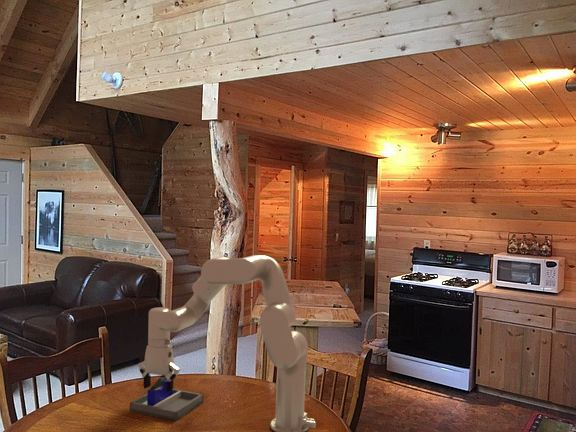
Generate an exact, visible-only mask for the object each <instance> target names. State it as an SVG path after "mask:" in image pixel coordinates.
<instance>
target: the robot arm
mask: <svg viewBox="0 0 576 432" xmlns="http://www.w3.org/2000/svg"><path fill="white" fill-rule="evenodd" d="M256 281H260V282H261V288H262V295H263V297H264V302H265V304H266V305H265V306H266V307H265V308H264V309H263V310H262V311H261V313H260V316H259V327H260V331H261V334H262V338H263V341H264V345H265V348H266V352H267V354H268V358H269V360H270V361H271V363H272V364H273V366H275V367H276V390H275V392H276V393H275V395H276V396H275V417H274V419H272V420H271V421H270V428H271V430H273V432H307V431H308V429H309V428H313V429H315V428H316V427H317V426H316V425H317V422H316V421H315V419H314V418H310V417H309V418H308V413H307V412H305V401H306V400H305V399H306V398H305V397H306V396H305V395H306V393H305V392H306V371H307V361H308V351H309V344H308V341H307V338H306V337H305V336H304V334H303V333H301V332H299V331H298V330H297V331H296V330H292V329H291V327H292V326H293V325H294V324H295V322H296V319H297V314H296V310H295V306H294V304H293V300H292V297H291V296H292V295H291V294H290V290H289V288H288V284H287V280H286V278H285V274H284V272H283V269H282V266H281V265H280V264H279V262H278V261H276V260H275V259H274V258H272V257H270V256H267V255H261V254H254V255H249V256H245V257H238V258H236V257H235V258H229V257H227V256H226V257H225V256H220V257H219V256H218V257H215V258H214V257H213V258H210V259H208V260H207V261H205V262H204V263H203V265H202V267H201V269H200V276H199V278H198V279H197V280H196V281H195V282H194V283H193V284H192V291H193V294H192V296H191V297H190V298H189V300H188V301H186V302H185V304H184V305H183V306H182V307H181V306H180V307H179V308H176V309H172V310H170V309H169V308H168V307H154V308H153V307H152V308H151V309H150V310H149V311H148V326H147V327H148V331H147V332H148V334H147V335H148V338H147V341H148V342H147V344H148V345H146V349H145V354H144V360H143V361H141V362H139V363H138V364H137V367H138V369H139V373H140V374H141V377H142V378H143V389H148V388H149V387H151V385H152V383H151V381H152V378H151V374H152V375H158V376H162V375H165V377H166V378H167V380H168V381H167V382H166V392H170V391H172V390H173V389H174V380H175V379H176V378H177V377H178V375H179V374H180V371H181V369H180V368H179V367H178V366H177V365H175V362H174V352H173V347H172V344H173V340H171V338H170V337H171V336H170V335H171V334H170V333H176V332H180V331H182V330H184V329H186V328H188V327H191V326H192V325H194V324H195V323H196V322H197V321H198V320H199V319H200V318H201V317H202V315H204V313H205V312H206V311H207V310H208V308H209V306H210V304H211V303H212V301H213V299H214V298H215V297H216V296H217V295H218V294H219V292H221V290H222V289H223V288H225V286H226V285H245V284H251V283H254V282H256Z"/></svg>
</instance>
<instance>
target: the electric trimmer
mask: <svg viewBox="0 0 576 432" xmlns="http://www.w3.org/2000/svg"><path fill="white" fill-rule="evenodd" d="M164 380H167V378H166V377H165V375H160V377H159V378H158V379H157V380H156V382H155V383H154V384H153V385H152V386H150V389H153V390H155V389H157V388H158V387H160V386H161V387H163V381H164Z"/></svg>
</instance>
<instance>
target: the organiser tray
mask: <svg viewBox="0 0 576 432" xmlns="http://www.w3.org/2000/svg"><path fill="white" fill-rule="evenodd" d="M160 388H161V386H160V387H158V388H157V389H155V390H157V391H158V389H160ZM204 394H205V393H204ZM204 394H202V393H198V392H194V391H187V390H181V389H177V388H173V390H172V395H171V396H169V397H168V398H166V399H164V400H163V401H161V402H159V403H157V404H156V405H154V406H150V405H147V393H146V394H143V395H142V396H139V397H138V398H136V399H134V400H132V401H130V402H129V412H131V413H136V414H142V415H146V416H149V417H150V416H151V417H153V418H154V417H155V418H159V419H163V420H164V419H165V420H170V421H173V422H176V421H178V420H179V419H181V418H182V417H184V416H185V415H187V414H188V413H190V412H192V411H193V410H194V409H196V408H198V407H199V406H200V405H202V404H203V403H204Z"/></svg>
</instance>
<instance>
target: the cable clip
mask: <svg viewBox="0 0 576 432" xmlns="http://www.w3.org/2000/svg"><path fill="white" fill-rule="evenodd" d="M167 381H168V380H164V381H163V387H161V388H160V389H158V391H157V390H153V389H151V388H150V389H148V390H147V393H146V394H147V405H150V406H154V405H156V404H157V403H159V402H161V401H163V400H164V399H166V398H168V397H169V396H171V395H172V391H170V392H166V382H167Z"/></svg>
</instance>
